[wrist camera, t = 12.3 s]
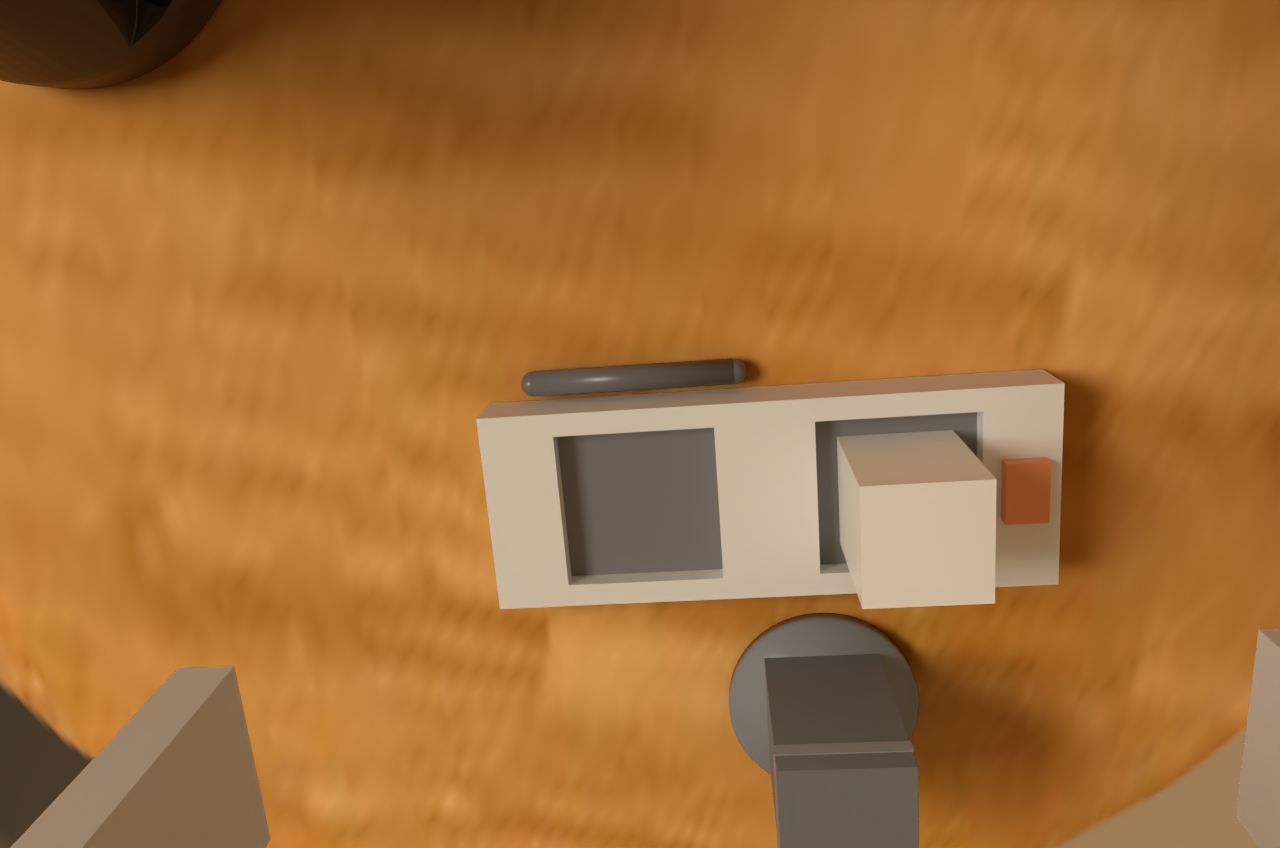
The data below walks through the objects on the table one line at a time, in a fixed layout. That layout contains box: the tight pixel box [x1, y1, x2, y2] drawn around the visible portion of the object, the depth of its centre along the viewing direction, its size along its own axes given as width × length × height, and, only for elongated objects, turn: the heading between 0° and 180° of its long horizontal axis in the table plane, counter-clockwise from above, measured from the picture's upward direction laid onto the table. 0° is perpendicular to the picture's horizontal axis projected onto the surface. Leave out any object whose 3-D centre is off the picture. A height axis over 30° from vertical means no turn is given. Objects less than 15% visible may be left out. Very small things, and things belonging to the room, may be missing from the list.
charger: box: [764, 654, 919, 848], centre depth 39 cm, size 5×5×8 cm
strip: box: [476, 359, 1065, 609], centre depth 39 cm, size 22×9×3 cm, turn 94°
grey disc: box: [729, 613, 919, 774], centre depth 43 cm, size 8×8×1 cm
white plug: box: [837, 430, 997, 609], centre depth 36 cm, size 4×4×6 cm
